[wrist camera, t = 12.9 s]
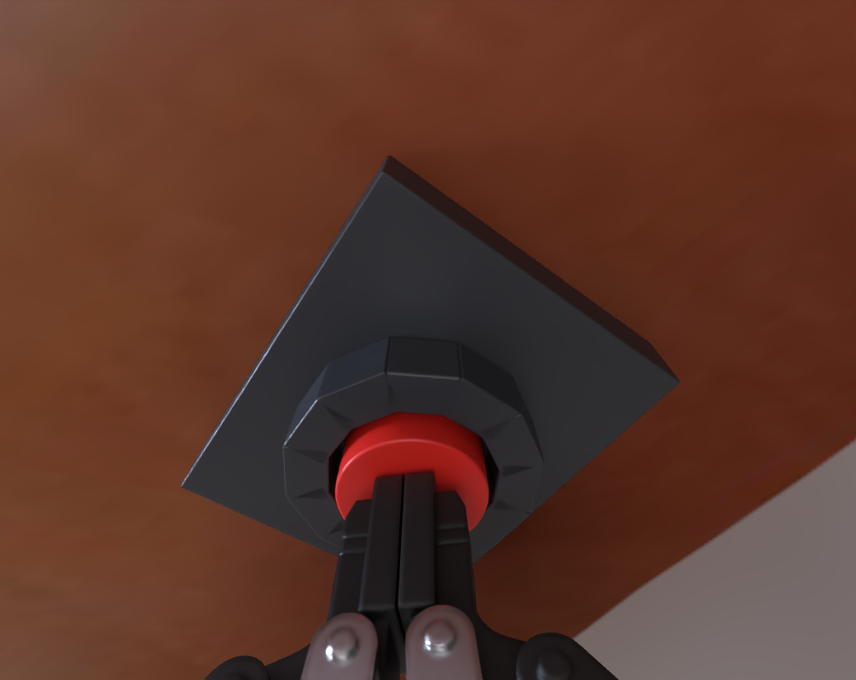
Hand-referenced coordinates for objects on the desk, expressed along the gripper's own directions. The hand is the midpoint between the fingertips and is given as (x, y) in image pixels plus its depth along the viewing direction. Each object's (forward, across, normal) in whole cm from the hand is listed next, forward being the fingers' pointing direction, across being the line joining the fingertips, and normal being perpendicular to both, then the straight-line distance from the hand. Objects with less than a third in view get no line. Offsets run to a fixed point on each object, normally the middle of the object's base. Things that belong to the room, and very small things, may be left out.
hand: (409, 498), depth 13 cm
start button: (+2, 0, 0) cm, 2 cm away
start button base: (+5, 0, 0) cm, 5 cm away
